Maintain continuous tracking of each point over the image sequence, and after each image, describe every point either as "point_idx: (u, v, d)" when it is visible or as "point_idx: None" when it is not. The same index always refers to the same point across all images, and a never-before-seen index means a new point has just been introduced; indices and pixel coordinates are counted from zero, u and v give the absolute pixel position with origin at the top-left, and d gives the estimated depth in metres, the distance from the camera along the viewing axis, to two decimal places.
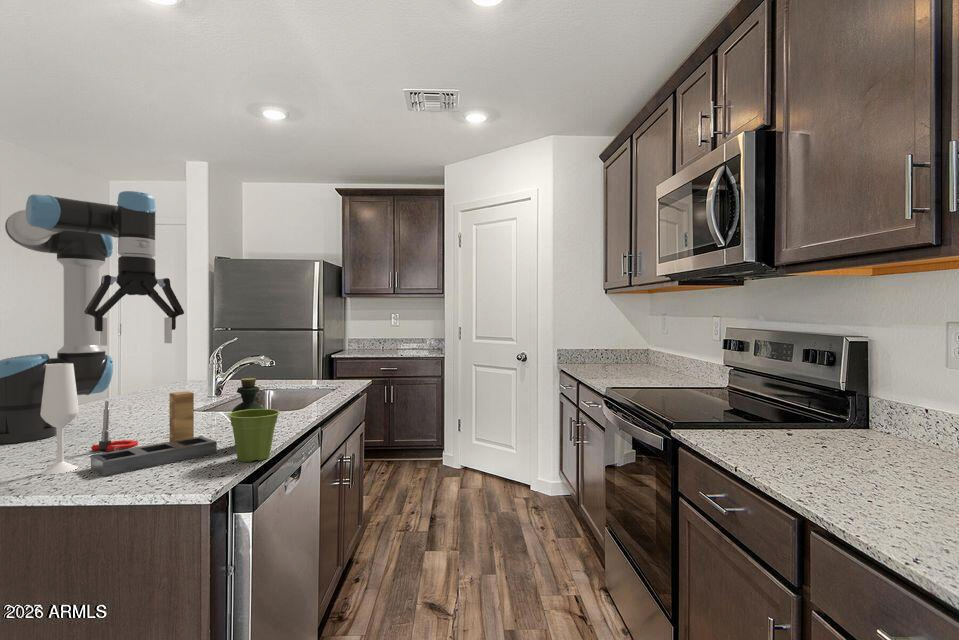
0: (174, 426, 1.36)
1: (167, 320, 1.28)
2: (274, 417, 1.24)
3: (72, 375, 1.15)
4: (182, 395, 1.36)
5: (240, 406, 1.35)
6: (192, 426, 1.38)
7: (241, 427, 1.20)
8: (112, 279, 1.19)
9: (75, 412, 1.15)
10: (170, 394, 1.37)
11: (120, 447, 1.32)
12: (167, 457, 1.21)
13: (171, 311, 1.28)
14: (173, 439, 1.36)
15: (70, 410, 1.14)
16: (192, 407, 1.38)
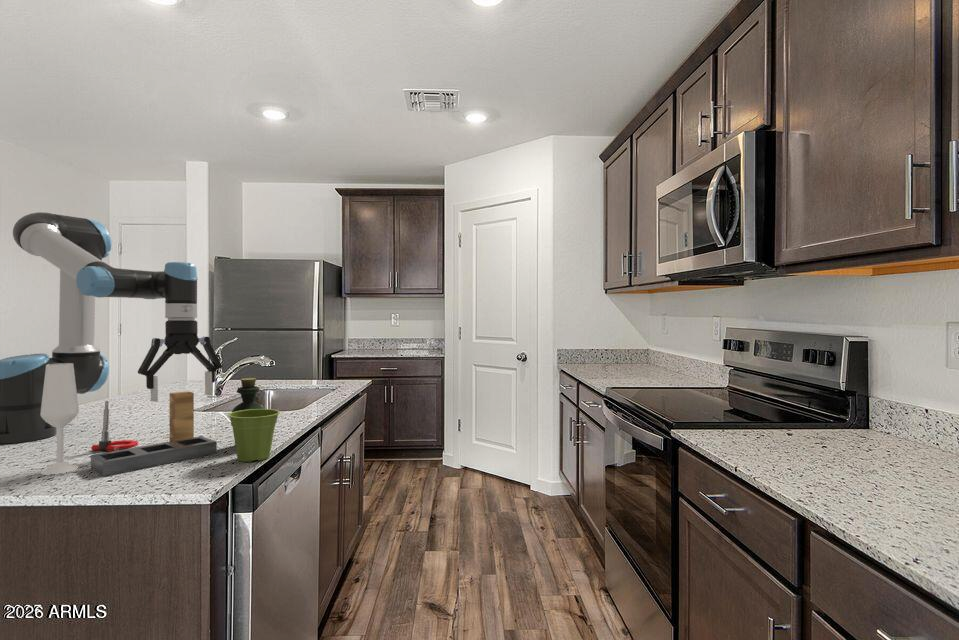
0: (174, 426, 1.36)
1: (208, 374, 1.42)
2: (274, 417, 1.24)
3: (72, 375, 1.15)
4: (182, 395, 1.36)
5: (240, 406, 1.35)
6: (192, 426, 1.38)
7: (241, 427, 1.20)
8: (161, 341, 1.33)
9: (75, 412, 1.15)
10: (170, 394, 1.37)
11: (120, 447, 1.32)
12: (167, 457, 1.21)
13: (211, 366, 1.43)
14: (173, 439, 1.36)
15: (70, 410, 1.14)
16: (192, 407, 1.38)
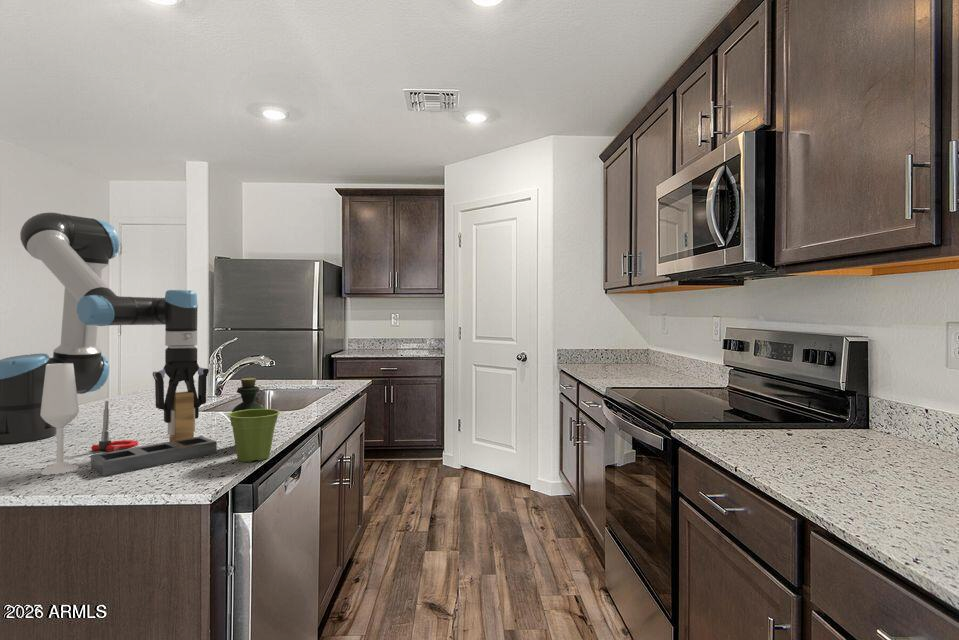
0: None
1: None
2: (274, 417, 1.24)
3: (72, 375, 1.15)
4: (182, 395, 1.36)
5: (240, 406, 1.35)
6: (192, 426, 1.38)
7: (241, 427, 1.20)
8: (162, 373, 1.34)
9: (75, 412, 1.15)
10: None
11: (120, 447, 1.32)
12: (167, 457, 1.21)
13: (196, 401, 1.40)
14: (173, 439, 1.36)
15: (70, 410, 1.14)
16: (192, 407, 1.38)
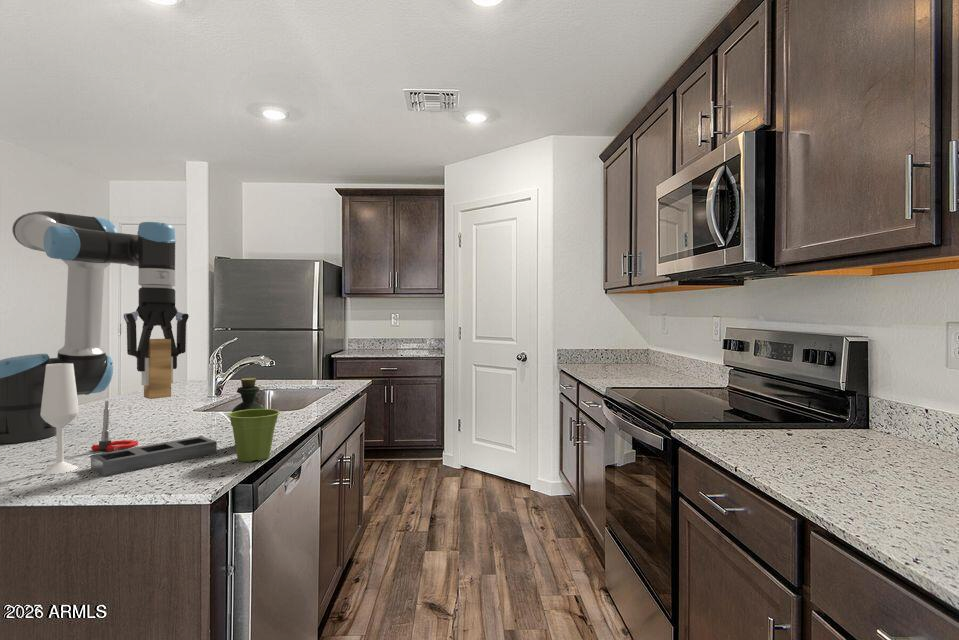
0: None
1: None
2: (274, 417, 1.24)
3: (72, 375, 1.15)
4: (158, 341, 1.21)
5: (240, 406, 1.35)
6: (169, 377, 1.23)
7: (241, 427, 1.20)
8: (134, 315, 1.18)
9: (75, 412, 1.15)
10: None
11: (120, 447, 1.32)
12: (167, 457, 1.21)
13: (174, 349, 1.24)
14: (147, 390, 1.21)
15: (70, 410, 1.14)
16: (169, 355, 1.23)
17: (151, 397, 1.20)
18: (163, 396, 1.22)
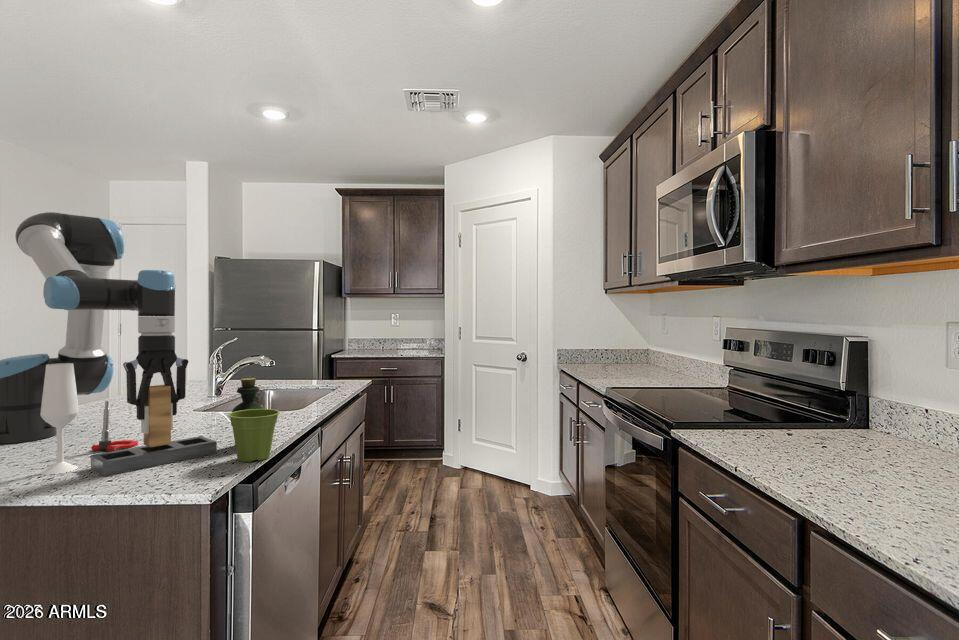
0: None
1: None
2: (274, 417, 1.24)
3: (72, 375, 1.15)
4: (157, 389, 1.21)
5: (240, 406, 1.35)
6: (169, 424, 1.23)
7: (241, 427, 1.20)
8: (134, 364, 1.18)
9: (75, 412, 1.15)
10: None
11: (120, 447, 1.32)
12: (167, 457, 1.21)
13: (174, 395, 1.24)
14: (147, 438, 1.21)
15: (70, 410, 1.14)
16: (169, 402, 1.23)
17: (151, 445, 1.20)
18: (163, 443, 1.22)
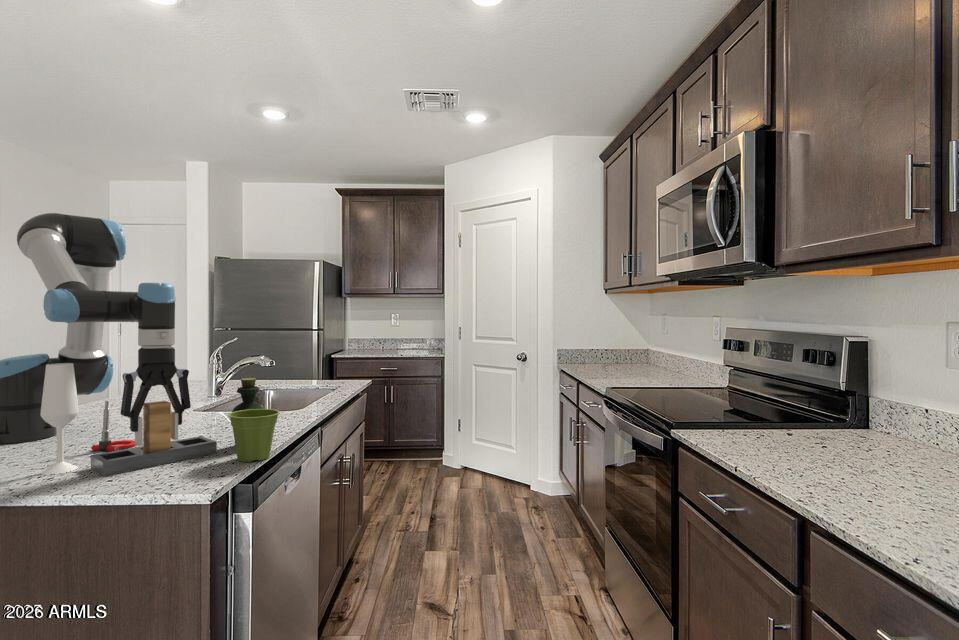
0: (148, 440, 1.20)
1: (173, 416, 1.25)
2: (274, 417, 1.24)
3: (72, 375, 1.15)
4: (157, 405, 1.21)
5: (240, 406, 1.35)
6: (169, 440, 1.23)
7: (241, 427, 1.20)
8: (133, 375, 1.18)
9: (75, 412, 1.15)
10: (144, 404, 1.22)
11: (120, 447, 1.32)
12: (167, 457, 1.21)
13: (179, 406, 1.25)
14: None
15: (70, 410, 1.14)
16: (169, 419, 1.23)
17: None
18: None
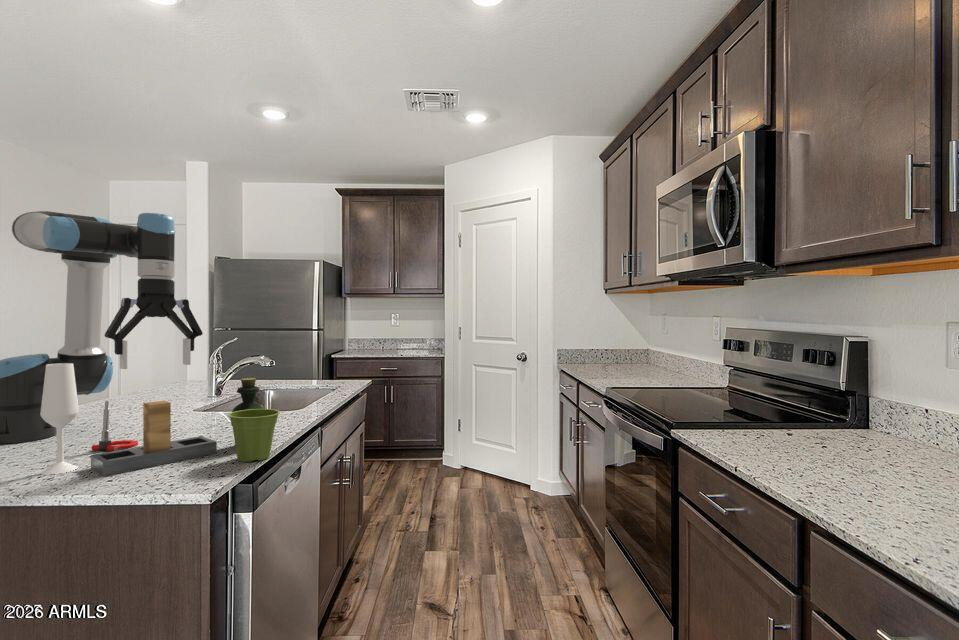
0: (148, 440, 1.20)
1: (186, 341, 1.27)
2: (274, 417, 1.24)
3: (72, 375, 1.15)
4: (157, 405, 1.21)
5: (240, 406, 1.35)
6: (169, 440, 1.23)
7: (241, 427, 1.20)
8: (132, 302, 1.18)
9: (75, 412, 1.15)
10: (144, 404, 1.22)
11: (120, 447, 1.32)
12: (167, 457, 1.21)
13: (190, 332, 1.27)
14: None
15: (70, 410, 1.14)
16: (169, 419, 1.23)
17: None
18: None
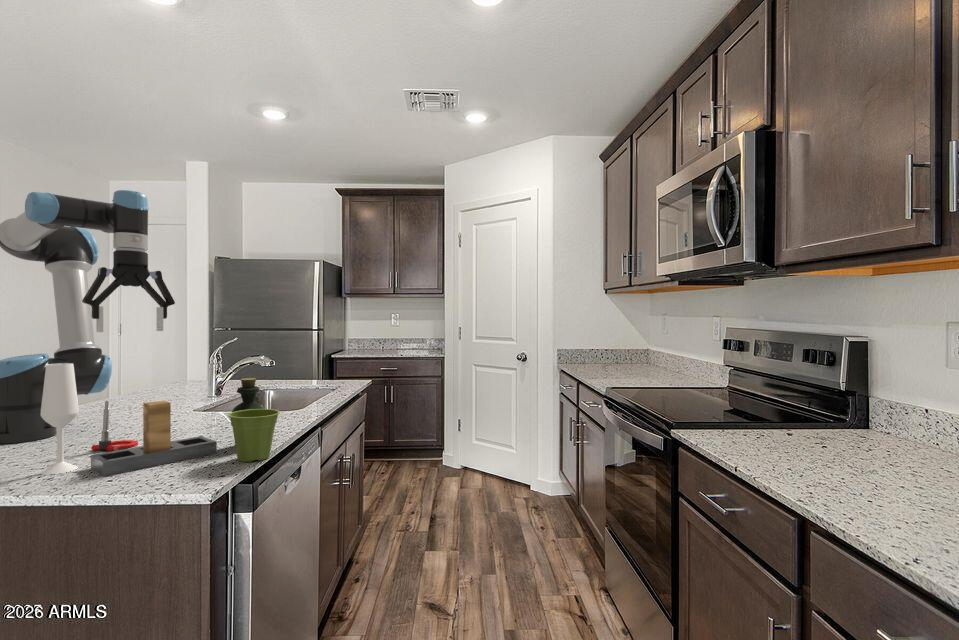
0: (148, 440, 1.20)
1: (159, 309, 1.38)
2: (274, 417, 1.24)
3: (72, 375, 1.15)
4: (157, 405, 1.21)
5: (240, 406, 1.35)
6: (169, 440, 1.23)
7: (241, 427, 1.20)
8: (108, 271, 1.29)
9: (75, 412, 1.15)
10: (144, 404, 1.22)
11: (120, 447, 1.32)
12: (167, 457, 1.21)
13: (163, 301, 1.39)
14: None
15: (70, 410, 1.14)
16: (169, 419, 1.23)
17: None
18: None
